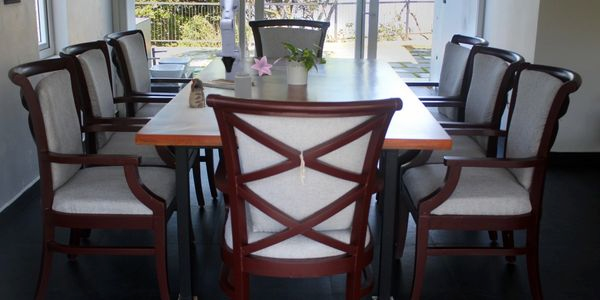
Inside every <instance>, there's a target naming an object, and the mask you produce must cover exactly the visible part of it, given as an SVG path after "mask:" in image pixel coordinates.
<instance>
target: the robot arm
mask: <svg viewBox="0 0 600 300" xmlns="http://www.w3.org/2000/svg"><path fill="white" fill-rule="evenodd" d="M219 6H220V9H221V11H222V12H221V20H219V29H220V36H221V52H219V51H218V52H215V58H217V57H219V58H220V59H221V62H222V63H223V66H224V73H225V78H224V79H228V80H234V76H235V75H236V73H239V72H244V67H243V66H244V65H243V64H242V49H241V46H239V45H237V44H236V13H237V12H239V11H240V8H241V7H240V0H219Z"/></svg>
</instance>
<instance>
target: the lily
mask: <svg viewBox="0 0 600 300" xmlns="http://www.w3.org/2000/svg"><path fill="white" fill-rule="evenodd" d="M253 60H254V62H255V64H253V65H251V67H250V68H251V69H253V70H257V72H258V75H259V77H261V76H262V75H263V74H267V75H269V76H272V71H271V70H270V68H272V67H273V65H272V64H270V63H268V59H267V56H266V55H264V56H262V58H261V59H260V60H259V59H258V58H256V57H254V58H253Z"/></svg>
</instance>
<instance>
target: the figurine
mask: <svg viewBox="0 0 600 300" xmlns="http://www.w3.org/2000/svg"><path fill="white" fill-rule="evenodd" d="M191 81H192V83H191V84H190V92H189V95H188V96H189V98H188V106H189V107H190V108H193V107H200V108H205V107H206V106H205V105H206V104H207V103H206V104H205V100H206V97H205V92H204V90H205V87H203V86H202V82H203V80H201V79H200V78H199V77H196V78H191Z"/></svg>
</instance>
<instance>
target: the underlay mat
mask: <svg viewBox="0 0 600 300" xmlns="http://www.w3.org/2000/svg"><path fill="white" fill-rule="evenodd" d="M255 86H256V85H255V84H254V85H253V86H252V87H255ZM203 88H214V89H220V90H221V89H222V90H230V91H235V89H229V88H220V87H211V86H203Z"/></svg>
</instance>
